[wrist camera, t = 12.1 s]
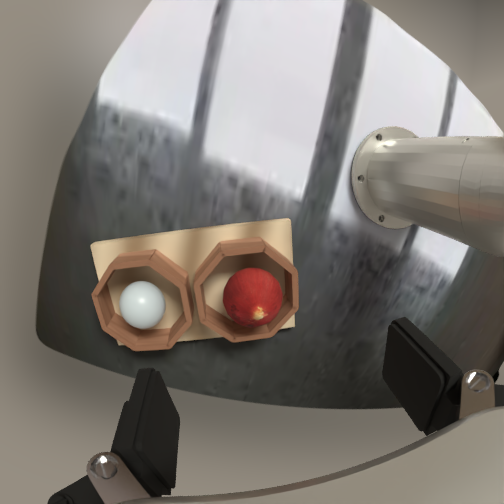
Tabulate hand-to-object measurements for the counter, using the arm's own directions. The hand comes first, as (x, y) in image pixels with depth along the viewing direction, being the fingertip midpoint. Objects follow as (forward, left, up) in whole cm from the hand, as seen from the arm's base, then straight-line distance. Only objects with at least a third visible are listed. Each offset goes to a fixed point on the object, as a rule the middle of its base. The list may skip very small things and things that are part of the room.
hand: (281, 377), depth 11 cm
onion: (-1, +5, -21) cm, 22 cm away
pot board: (+5, +5, -22) cm, 23 cm away
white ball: (+11, +5, -21) cm, 24 cm away
